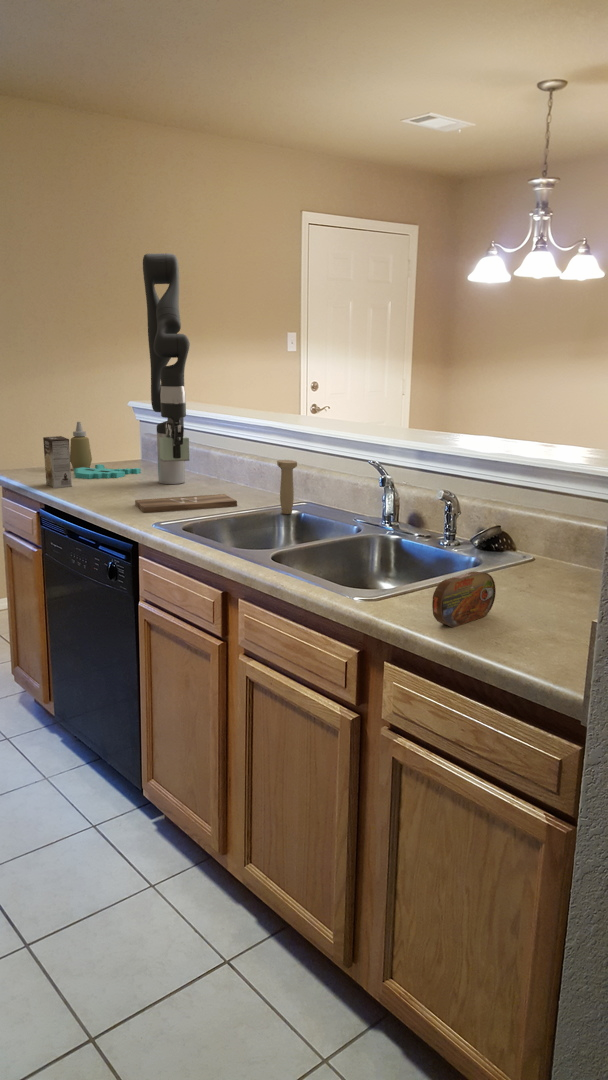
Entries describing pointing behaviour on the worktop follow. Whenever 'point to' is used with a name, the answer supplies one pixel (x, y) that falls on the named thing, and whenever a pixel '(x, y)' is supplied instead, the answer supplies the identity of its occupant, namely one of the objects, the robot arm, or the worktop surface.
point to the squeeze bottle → (80, 449)
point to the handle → (286, 485)
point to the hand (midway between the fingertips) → (174, 456)
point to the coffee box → (57, 461)
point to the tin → (463, 598)
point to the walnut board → (185, 503)
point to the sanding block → (167, 449)
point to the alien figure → (103, 472)
